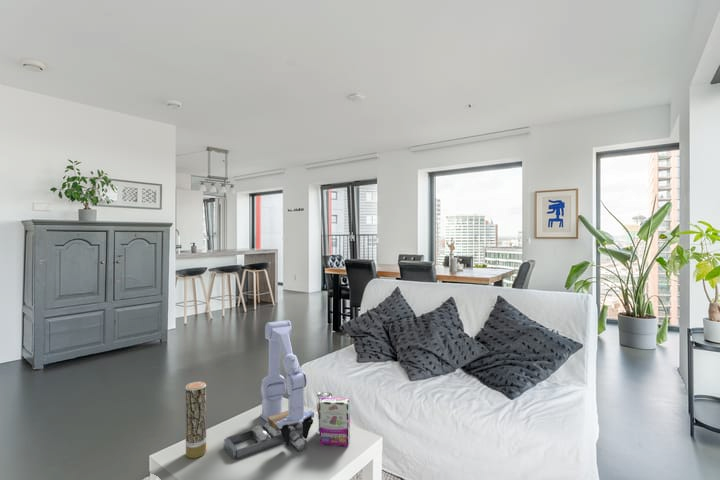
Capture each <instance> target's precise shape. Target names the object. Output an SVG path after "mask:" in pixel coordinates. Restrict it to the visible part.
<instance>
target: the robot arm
mask: <svg viewBox="0 0 720 480" xmlns="http://www.w3.org/2000/svg"><path fill="white" fill-rule="evenodd" d="M292 331H293V330H292V323H291V321H290V320H289V319H286V320H279V321H278V320H277V321H270V322H269V321H267V323H266V324H265V325H264V336H265V340H268V374H267V375H266V376H264V378H263V379H262V380H261V386H260V393H261V394H260V395H261V397H262V401H261V413H259V416H260V417H261V418H262V419H264V421H265V422H266V423H267V422H268V417H270V416H273V415H276V414H279V413H282V412H283V398H284V395H285V394H286V393H287V394H288V397H287V398H288V408H287V409H288V410H287V411H288V416H287V417H286V418H284V419H282V420H280V421H278V422H277V427H278V428H279V429H280V430H281V432H282V435H283V437H284V442H283V443H284V445H286V446H287V447H289V446H290V442H289V436H290V431H291V430H290V429H289V427H288V425H290V424H293V423H302V426H303V435H302V437H303V438H304V439H305V440H307V439H308V436H309V433H310V429H311V427H312V425H313V424H314V419H313V418H315V412H314V411H313V410H309V411H308V410H307V411H305V409H304V408H305V406H304V405H305V404H304V403H305V399H304V398H305V394H304V393H305V387H307V381H308V380H307V376H306V373H305V371H304V370H303V369H302V368H301V366H300V363H299V360H298V356H297V355H296V354H294V353H293V348H292V343H291V339H290V337H291V334H292ZM281 352H282V355H283V359H282V365H283V368H284V371H285V372H284V373H285V376H286V377H284V376H283V375H282V374H281Z"/></svg>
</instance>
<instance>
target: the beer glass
mask: <svg viewBox="0 0 720 480" xmlns="http://www.w3.org/2000/svg"><path fill="white" fill-rule="evenodd" d="M322 397H324V398H334V394H333V393H331V392H330V391H320V392H318V393H316V399H315V412H316V417H317V430H316V433H317V435H318V436H320V408H319V406H320V405H319V403H320V401H321V399H322Z"/></svg>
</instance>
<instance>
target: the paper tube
mask: <svg viewBox="0 0 720 480" xmlns="http://www.w3.org/2000/svg"><path fill="white" fill-rule="evenodd" d="M206 451H207V382H204V381H194V382H190V383H187V384H186V386H185V455H186V457H187V458H189V459H197V458H200V457H202V456H204V455H205V453H206Z"/></svg>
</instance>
